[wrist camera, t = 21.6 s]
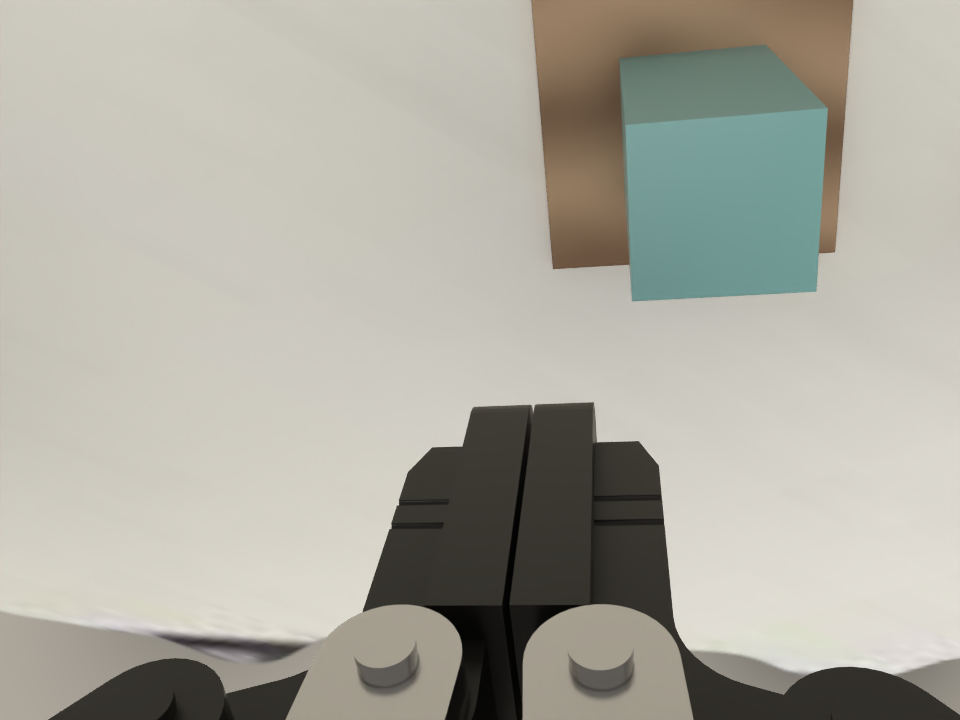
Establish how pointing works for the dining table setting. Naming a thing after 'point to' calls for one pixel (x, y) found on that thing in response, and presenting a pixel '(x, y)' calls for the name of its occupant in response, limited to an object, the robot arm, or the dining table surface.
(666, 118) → the tall teal pillar
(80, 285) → the dining table surface
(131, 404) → the dining table surface
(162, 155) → the dining table surface
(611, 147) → the brown base plate
